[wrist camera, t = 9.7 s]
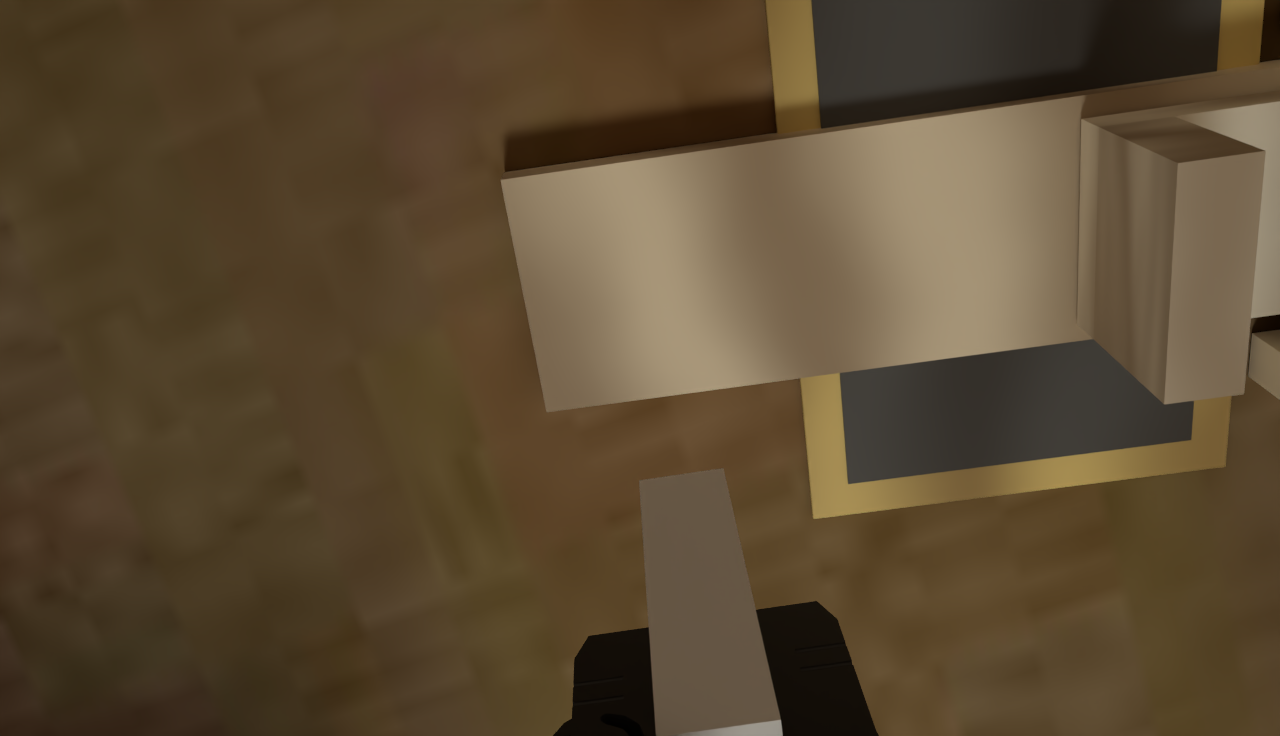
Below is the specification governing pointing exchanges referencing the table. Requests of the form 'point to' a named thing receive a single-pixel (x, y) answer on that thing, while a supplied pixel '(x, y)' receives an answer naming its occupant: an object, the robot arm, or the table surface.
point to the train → (1181, 240)
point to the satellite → (892, 247)
